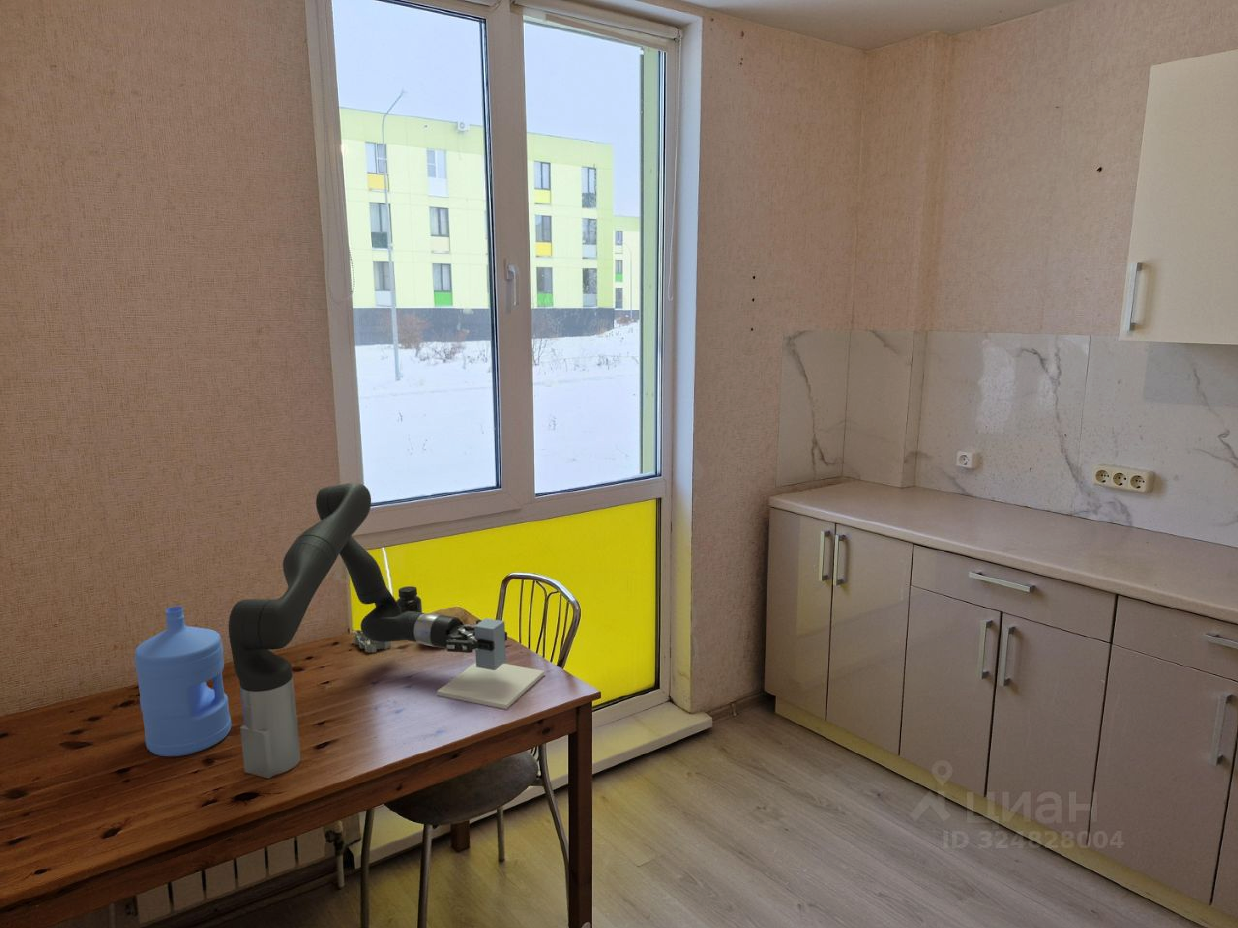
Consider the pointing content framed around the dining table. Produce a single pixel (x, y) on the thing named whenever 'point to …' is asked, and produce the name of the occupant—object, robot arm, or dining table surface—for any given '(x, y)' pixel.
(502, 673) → the cream tile
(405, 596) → the supplement bottle
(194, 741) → the water jug
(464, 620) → the potato
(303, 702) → the dining table surface
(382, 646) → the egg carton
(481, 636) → the slate block
